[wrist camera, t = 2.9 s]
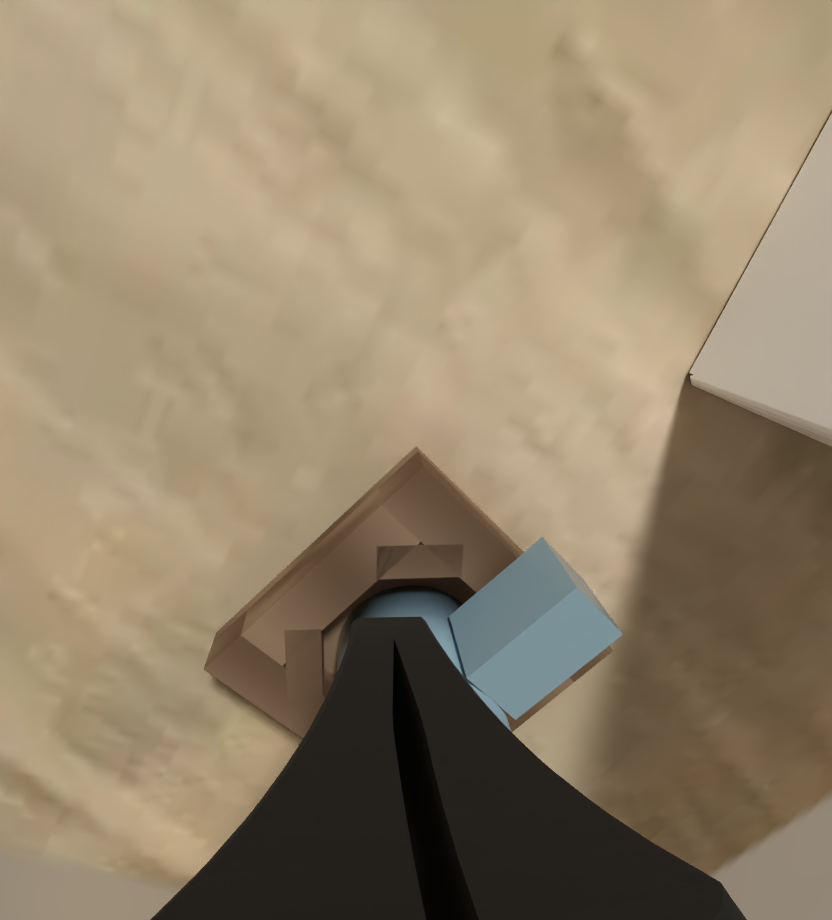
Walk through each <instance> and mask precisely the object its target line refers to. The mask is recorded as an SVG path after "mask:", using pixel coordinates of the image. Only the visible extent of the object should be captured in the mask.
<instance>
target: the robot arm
mask: <svg viewBox="0 0 832 920" xmlns="http://www.w3.org/2000/svg"><path fill="white" fill-rule="evenodd" d="M151 920H746V918H745V917H744V915H743V914H742V912H741V911H740V910H739V908H738V907H737V906H736V904H735V903H734V901H733V900H732V899H731V897H730V896H729V894H728V893H727V891H726V890H725V888H724V887H723V885H722V884H721V883H720V882H719V881H717V880H716V879H714V878H712V877H710V876H709V875H707V874H705V873H704V872H702V871H700V870H698V869H697V868H695V867H693V866H692V865H690V864H688V863H686V862H685V861H683V860H681V859H680V858H678V857H676V856H674V855H673V854H671V853H669V852H667V851H666V850H664V849H662V848H661V847H659V846H657V845H655V844H654V843H652V842H651V841H649V840H647V839H646V838H644V837H643V836H641V835H640V834H638V833H637V832H635V831H634V830H632V829H631V828H629V827H628V826H626V825H625V824H623V823H622V822H620V821H619V820H617V819H616V818H614V817H613V816H611V815H610V814H609V813H607V812H606V811H604V810H603V809H602V808H600V807H599V806H597V805H596V804H595V803H593V802H592V801H591V800H589V799H588V798H587V797H585V796H584V795H583V794H582V793H580V792H579V791H578V790H577V789H575V788H574V787H573V786H571V785H570V784H569V783H568V782H566V781H565V780H564V779H563V778H561V777H560V776H559V775H557V774H556V773H555V772H554V771H553V770H551V769H550V768H549V767H548V766H547V765H546V764H544V763H543V762H542V761H541V760H540V759H539V758H538V757H537V756H536V755H534V754H533V753H532V752H531V751H530V750H529V749H528V748H527V747H526V746H525V745H524V744H523V743H522V742H521V741H520V740H519V739H518V738H517V737H516V736H515V735H514V734H513V733H512V732H511V731H510V730H509V729H508V728H507V727H506V726H505V725H504V724H503V723H502V722H501V721H500V719H499V718H498V717H497V716H496V715H495V714H494V713H493V712H492V711H491V709H490V708H489V707H488V706H487V705H486V704H485V703H484V701H483V700H482V699H481V698H480V697H479V695H478V694H477V693H476V692H475V691H474V689H473V688H472V687H471V686H470V684H469V683H468V682H467V680H466V679H465V678H464V677H463V675H462V674H461V673H460V671H459V670H458V669H457V668H456V666H455V665H454V663H453V662H452V661H451V659H450V658H449V656H448V655H447V654H446V652H445V651H444V649H443V648H442V646H441V645H440V643H439V642H438V640H437V639H436V637H435V636H434V634H433V632H432V631H431V629H430V628H429V626H428V624H427V622H426V621H425V620H424V619H423V618H422V617H377V618H357V619H356V620H355V621H353V622H352V623H351V632H350V637H349V641H348V645H347V648H346V651H345V654H344V656H343V659H342V662H341V665H340V667H339V669H338V672H337V674H336V676H335V679H334V681H333V683H332V685H331V688H330V690H329V692H328V694H327V696H326V698H325V700H324V702H323V704H322V706H321V708H320V709H319V711H318V713H317V715H316V717H315V719H314V721H313V723H312V725H311V726H310V728H309V730H308V731H307V733H306V735H305V736H304V738H303V740H302V741H301V743H300V745H299V746H298V748H297V749H296V751H295V753H294V754H293V756H292V757H291V759H290V760H289V762H288V763H287V765H286V766H285V768H284V769H283V771H282V772H281V773H280V775H279V776H278V777H277V779H276V780H275V782H274V783H273V784H272V786H271V787H270V788H269V790H268V791H267V792H266V794H265V795H264V797H263V798H262V799H261V801H260V802H259V803H258V804H257V806H256V807H255V808H254V809H253V811H252V812H251V813H250V814H249V816H248V817H247V818H246V819H245V821H244V822H243V823H242V824H241V825H240V826H239V827H238V829H237V830H236V831H235V832H234V833H233V834H232V835H231V836H230V838H229V839H228V840H227V841H226V842H225V843H224V844H223V846H222V847H221V848H220V849H219V850H218V851H217V852H216V854H215V855H214V856H213V857H212V858H211V859H210V860H209V862H208V863H207V864H206V865H205V866H204V867H203V868H202V869H201V870H200V871H199V872H198V873H197V874H196V875H195V876H194V877H193V878H192V879H191V880H190V881H189V882H188V883H187V884H186V885H185V886H184V887H183V888H182V889H181V890H180V891H179V892H178V893H177V894H176V895H175V896H174V897H173V898H172V899H171V900H170V901H169V902H168V903H167V904H166V905H165V906H164V907H163V908H162V909H161V910H160V911H159V912H158V913H157V914H156V915H155V916H154V917H153V918H152V919H151Z"/></svg>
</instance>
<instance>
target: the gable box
mask: <svg viewBox="0 0 832 920" xmlns="http://www.w3.org/2000/svg"><path fill="white" fill-rule="evenodd" d="M689 373H690V374H692V376H690V379H691V383H692V385H693V386H695V387H697V388H699V389H702V390H704V391H706V392H708V393H711V394H713V395H715V396H718V397H720V398H722V399H724V400H727V401H729V402H731V403H733V404H736V405H738V406H740V407H742V408H745V409H747V410H749V411H752V412H754V413H756V414H758V415H761V416H763V417H765V418H767V419H770V420H772V421H774V422H776V423H779V424H781V425H783V426H786V427H788V428H790V429H792V430H795V431H797V432H799V433H801V434H804V435H806V436H808V437H810V438H813V439H815V440H817V441H820V442H822V443H824V444H826V445H829V446H831V447H832V114H831V115H830V117H829V119H828V121H827V123H826V124H825V126H824V128H823V130H822V132H821V134H820V135H819V137H818V139H817V141H816V143H815V145H814V146H813V148H812V150H811V152H810V154H809V155H808V157H807V159H806V161H805V163H804V165H803V166H802V168H801V170H800V172H799V174H798V175H797V177H796V179H795V181H794V183H793V185H792V186H791V188H790V190H789V192H788V194H787V196H786V197H785V199H784V201H783V203H782V205H781V206H780V208H779V210H778V212H777V214H776V216H775V217H774V219H773V221H772V223H771V225H770V226H769V228H768V230H767V232H766V234H765V236H764V237H763V239H762V241H761V243H760V245H759V247H758V248H757V250H756V252H755V254H754V256H753V257H752V259H751V261H750V263H749V265H748V267H747V268H746V270H745V272H744V274H743V276H742V277H741V279H740V281H739V283H738V285H737V287H736V288H735V290H734V292H733V294H732V296H731V298H730V299H729V301H728V303H727V305H726V307H725V308H724V310H723V312H722V314H721V316H720V318H719V319H718V321H717V323H716V325H715V327H714V328H713V330H712V332H711V334H710V336H709V338H708V339H707V341H706V343H705V345H704V347H703V349H702V350H701V352H700V354H699V356H698V358H697V359H696V361H695V363H694V365H693V367H692V369H691V370H690V372H689Z"/></svg>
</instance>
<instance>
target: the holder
mask: <svg viewBox="0 0 832 920" xmlns="http://www.w3.org/2000/svg"><path fill="white" fill-rule="evenodd" d="M523 553H524V552H523V551H522V550H521V549H520V548H519V547H518V546H517V545H516V544H515V543H514V542H513V541H512V540H511V539H510V538H509V537H508V536H507V535H506V534H505V533H504V532H503V531H502V530H501V529H500V528H499V527H498V526H497V525H496V524H495V523H494V522H493V521H492V520H491V519H490V518H489V517H488V516H486V515H485V514H484V513H483V512H482V511H481V510H480V509H479V508H478V507H477V506H476V505H475V504H474V503H473V502H472V501H471V500H470V499H469V498H468V497H467V496H466V495H465V494H464V493H463V492H462V491H461V490H460V489H459V488H458V487H457V486H456V485H455V484H454V483H453V482H452V481H451V480H450V479H449V478H448V477H447V476H446V475H445V474H444V473H443V472H442V471H441V470H440V469H439V468H438V467H437V466H436V465H435V464H434V463H433V462H432V461H431V460H430V459H429V458H428V457H427V456H426V455H425V454H424V453H423V452H422V451H420V450H419V449H418V448H417V447H415V448H414V449H413V450H412V451H411V452H410V453H409V454H408V455H407V456H406V457H405V458H403V459H402V460H401V461H400V462H399V463H398V464H397V465H396V466H395V467H394V468H393V469H392V470H391V471H390V472H388V473H387V474H386V475H385V476H384V477H383V478H382V479H381V480H380V481H379V482H378V483H377V484H376V485H374V486H373V487H372V488H371V489H370V490H369V491H368V492H367V493H366V494H365V495H364V496H363V497H362V498H361V499H359V500H358V501H357V502H356V503H355V504H354V505H353V506H352V507H351V508H350V509H349V510H348V511H347V512H346V513H344V514H343V515H342V516H341V517H340V518H339V519H338V520H337V521H336V522H335V523H334V524H333V525H332V526H330V527H329V528H328V529H327V530H326V531H325V532H324V533H323V534H322V535H321V536H320V537H319V538H318V539H317V540H315V541H314V542H313V543H312V544H311V545H310V546H309V547H308V548H307V549H306V550H305V551H304V552H303V553H301V554H300V555H299V556H298V557H297V558H296V559H295V560H294V561H293V562H292V563H291V564H290V565H289V566H288V567H286V568H285V569H284V570H283V571H282V572H281V573H280V574H279V575H278V576H277V577H276V578H275V579H274V580H273V581H271V582H270V583H269V584H268V585H267V586H266V587H265V588H264V589H263V590H262V591H261V592H260V593H259V594H257V595H256V596H255V597H254V598H253V599H252V600H251V601H250V602H249V603H248V604H247V605H246V606H245V607H244V608H242V609H241V610H240V611H239V612H238V613H237V614H236V615H235V616H234V617H233V618H232V619H231V620H230V621H229V622H227V623H226V624H225V625H224V626H223V627H222V628H221V629H220V630H219V631H218V632H217V633H216V635H215V638H214V641H213V644H212V647H211V650H210V653H209V656H208V658H207V661H206V664H205V667H204V670H205V671H207V672H208V673H209V674H211V675H212V676H214V677H215V678H217V679H218V680H219V681H221V682H222V683H224V684H225V685H227V686H228V687H230V688H231V689H232V690H234V691H235V692H237V693H238V694H240V695H241V696H242V697H244V698H245V699H247V700H248V701H250V702H251V703H253V704H254V705H255V706H257V707H258V708H260V709H261V710H263V711H264V712H265V713H267V714H268V715H270V716H271V717H273V718H274V719H275V720H277V721H278V722H280V723H281V724H283V725H284V726H286V727H287V728H288V729H290V730H291V731H293V732H294V733H296V734H297V735H298V736H300V737H301V738H304V736H305V735H306V733H307V731H308V730H309V728H310V726H311V725H312V723H313V721H314V719H315V717H316V715H317V713H318V711H319V709H320V708H321V706H322V704H323V702H324V700H325V698H326V696H327V694H328V692H329V690H330V688H331V685H332V683H333V681H334V679H335V676H336V674H337V648H338V639H339V635H340V631H341V629H342V626H343V624H344V623H345V621H346V619H347V618H348V616H349V615H350V614H351V612H352V611H353V610H354V609H355V608H356V607H357V606H358V605H359V604H361V603H362V602H363V601H364V600H366V599H367V598H369V597H371V596H372V595H374V594H376V593H378V592H381V591H383V590H386V589H389V588H393V587H398V586H405V585H421V586H428V587H432V588H436V589H439V590H441V591H444V592H446V593H448V594H449V595H451V596H453V597H454V598H456V599H457V600H458V601H459V602H461V604H462V605H463V604H464V603H465V602H466V601H468V600H469V599H470V598H471V597H472V596H474V595H475V594H476V593H477V592H478V591H479V590H481V589H482V588H483V587H484V586H485V585H487V584H488V583H489V582H490V581H491V580H492V579H494V578H495V577H496V576H497V575H498V574H499V573H501V572H502V571H503V570H504V569H505V568H507V567H508V566H509V565H510V564H511V563H512V562H514V561H515V560H516V559H517V558H518V557H519V556H521V555H522V554H523ZM611 652H612V649H611V648H610V646H608V647H607V648H605V649H604V650H603V651H602V652H600V653H599V654H598V655H597V656H595V657H594V658H593V659H592V660H590V661H589V662H588V663H587V664H585V665H584V666H583V667H582V668H580V669H579V670H578V671H577V672H575V673H574V674H573V675H572V676H570V677H569V678H568V679H567V680H565V681H564V682H563V683H561V684H560V685H559V686H558V687H556V688H555V689H554V690H553V691H551V692H550V693H549V694H548V695H546V696H545V697H544V698H543V699H541V700H540V701H539V702H538V703H536V704H535V705H534V706H533V707H531V708H530V709H529V710H528V711H526V712H525V713H524V714H522V715H521V716H520V717H519V718H517V719H516V720H515V719H514V718H513V717H512V716H510V715H509V714H508V713H507V712H506V711H505V714H506V717H507V720H508V723H509V726H510V730H511V732H513V731H514V730H515V729H516V728H518V727H519V726H520V725H521V724H523V723H524V722H525V721H526V720H528V719H529V718H530V717H531V716H533V715H534V714H535V713H536V712H538V711H539V710H540V709H541V708H542V707H544V706H545V705H546V704H547V703H549V702H550V701H551V700H552V699H554V698H555V697H556V696H557V695H559V694H560V693H561V692H562V691H564V690H565V689H566V688H567V687H569V686H570V685H571V684H572V683H574V682H575V681H576V680H577V679H579V678H580V677H581V676H582V675H584V674H585V673H586V672H587V671H589V670H590V669H591V668H592V667H594V666H595V665H596V664H597V663H599V662H600V661H601V660H602V659H604V658H605V657H606V656H607V655H609V654H610V653H611Z"/></svg>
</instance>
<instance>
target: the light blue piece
mask: <svg viewBox="0 0 832 920" xmlns="http://www.w3.org/2000/svg"><path fill="white" fill-rule="evenodd" d="M377 617H422V618H423V619H424V620H425V621H426V622H427V624H428V626H429V628H430V629H431V631H432V632H433V634H434V636H435V637H436V639H437V640H438V642H439V643H440V645H441V646H442V648H443V649H444V651H445V652H446V654H447V655H448V656H449V658H450V659H451V661H452V662H453V663H454V665H455V666H456V668H457V669H458V670H459V671H460V673H461V674H462V675H463V677H464V678H465V679H466V680H467V682H468V683H469V684H470V686H471V687H472V688H473V689H474V691H475V692H476V693H477V694H478V695H479V697H480V698H481V699H482V700H483V701H484V703H485V704H486V705H487V706H488V707H489V708H490V709H491V711H492V712H493V713H494V714H495V715H496V716H497V717H498V718H499V719H500V721H501V722H502V723H503V724H504V725H505V726H506V727H507V728H508V729H509V730H510V726H509V723H508V720H507V717H506V714H505V711H506V712H507V713H508V714H509V715H510V716H512V717H513V718H514V719H515V720H516V719H517V718H519V717H520V716H521V715H522V714H524V713H525V712H526V711H528V710H529V709H530V708H531V707H533V706H534V705H535V704H536V703H538V702H539V701H540V700H541V699H543V698H544V697H545V696H546V695H548V694H549V693H550V692H551V691H553V690H554V689H555V688H556V687H558V686H559V685H560V684H561V683H563V682H564V681H565V680H567V679H568V678H569V677H570V676H572V675H573V674H574V673H575V672H577V671H578V670H579V669H580V668H582V667H583V666H584V665H585V664H587V663H588V662H589V661H590V660H592V659H593V658H594V657H595V656H597V655H598V654H599V653H600V652H602V651H603V650H604V649H605V648H607V647H608V646H609V645H611V644H612V643H613V642H614V641H616V640H617V639H618V638H619V637H621V636H622V635H623V633H622V632H621V631H620V629H619V628H618V626H617V625H616V624H615V622H614V621H613V620H612V618H611V617H610V615H609V614H608V613H607V611H606V610H605V608H604V607H603V606H602V604H601V603H600V601H599V600H598V599H597V597H596V596H595V595H594V593H593V592H592V590H591V589H590V588H589V586H588V585H587V583H586V582H585V581H584V579H583V578H582V577H581V576H580V575H579V574H578V573H577V572H576V571H575V570H574V569H573V568H572V567H571V566H570V565H569V564H568V563H567V562H566V561H565V560H564V559H563V557H562V556H561V555H560V554H559V553H558V552H557V551H556V550H555V549H554V548H553V547H552V546H551V545H550V544H549V543H548V542H547V541H546V540H545V539H544V538H543V537H542V538H541V539H540V540H538V541H537V542H536V543H535V544H534V545H532V546H531V547H530V548H529V549H528V550H527V551H525V552H524V553H523V554H522V555H521V556H519V557H518V558H517V559H516V560H515V561H514V562H512V563H511V564H510V565H509V566H508V567H507V568H505V569H504V570H503V571H502V572H501V573H499V574H498V575H497V576H496V577H495V578H494V579H492V580H491V581H490V582H489V583H488V584H487V585H485V586H484V587H483V588H482V589H481V590H479V591H478V592H477V593H476V594H475V595H474V596H472V597H471V598H470V599H469V600H468V601H466V602H465V603H464V604H463V605H462V604H461V602H459V601H458V600H457V599H456V598H454V597H453V596H451V595H449V594H448V593H446V592H444V591H441V590H439V589H436V588H432V587H428V586H421V585H405V586H398V587H393V588H389V589H386V590H383V591H381V592H378V593H376V594H374V595H372V596H371V597H369V598H367V599H366V600H364V601H363V602H362V603H361V604H359V605H358V606H357V607H356V608H355V609H354V610H353V611H352V612H351V614H350V615H349V616H348V618H347V619H346V621H345V623H344V624H343V626H342V629H341V631H340V635H339V639H338V648H337V672H338V669H339V667H340V665H341V662H342V659H343V656H344V654H345V651H346V648H347V645H348V641H349V637H350V632H351V623H352V622H353V621H355V620H356V619H357V618H377ZM510 731H511V730H510Z"/></svg>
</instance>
